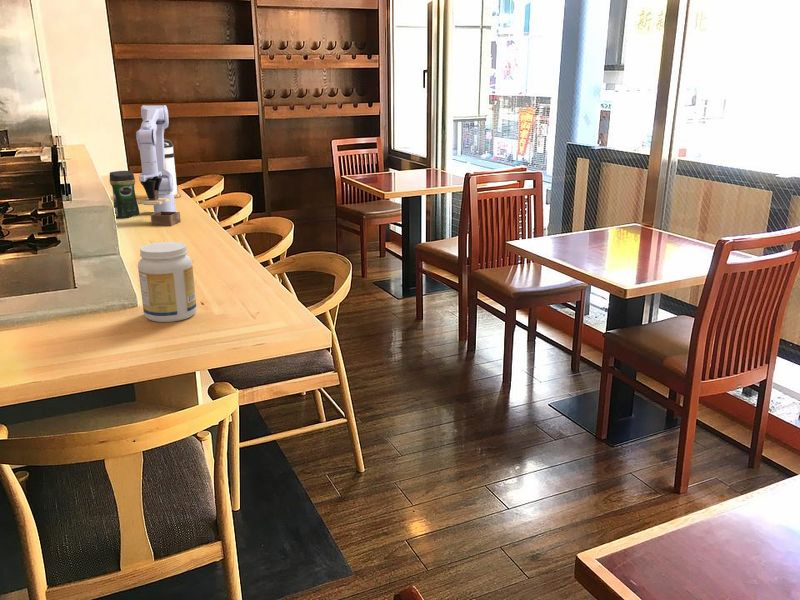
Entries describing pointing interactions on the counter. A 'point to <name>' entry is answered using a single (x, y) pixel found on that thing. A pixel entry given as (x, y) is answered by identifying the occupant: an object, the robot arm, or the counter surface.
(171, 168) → the coffee press
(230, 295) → the counter surface
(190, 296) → the supplement tub
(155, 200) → the lid
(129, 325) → the counter surface
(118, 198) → the coffee jar
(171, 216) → the box
